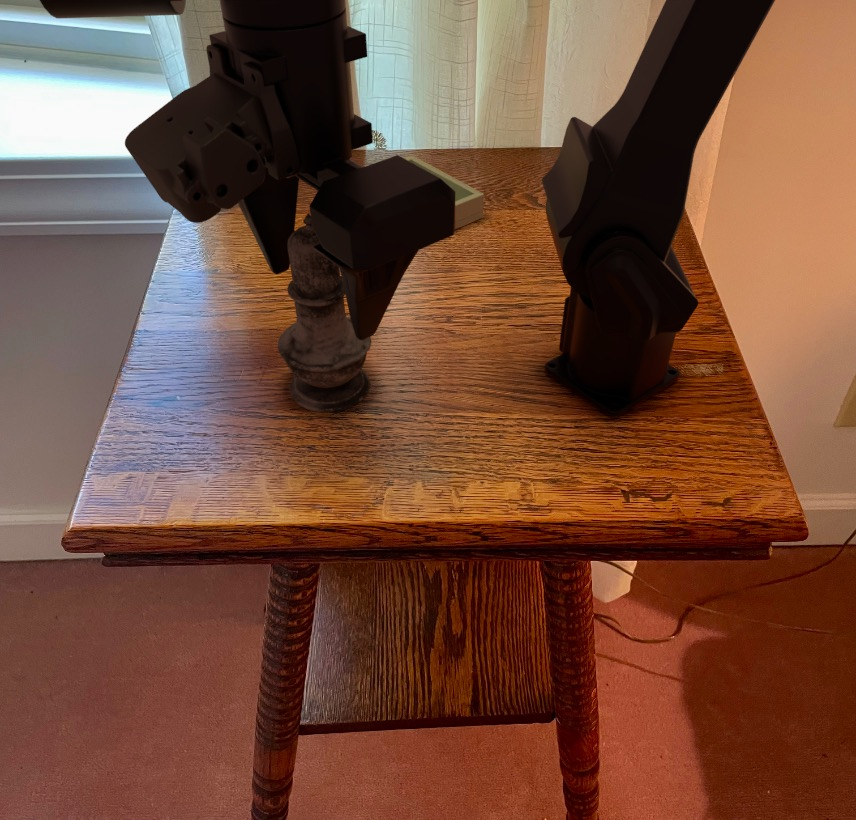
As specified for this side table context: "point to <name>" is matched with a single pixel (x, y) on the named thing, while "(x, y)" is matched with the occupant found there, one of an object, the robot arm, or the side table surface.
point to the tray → (458, 195)
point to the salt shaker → (321, 332)
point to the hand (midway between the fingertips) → (321, 302)
